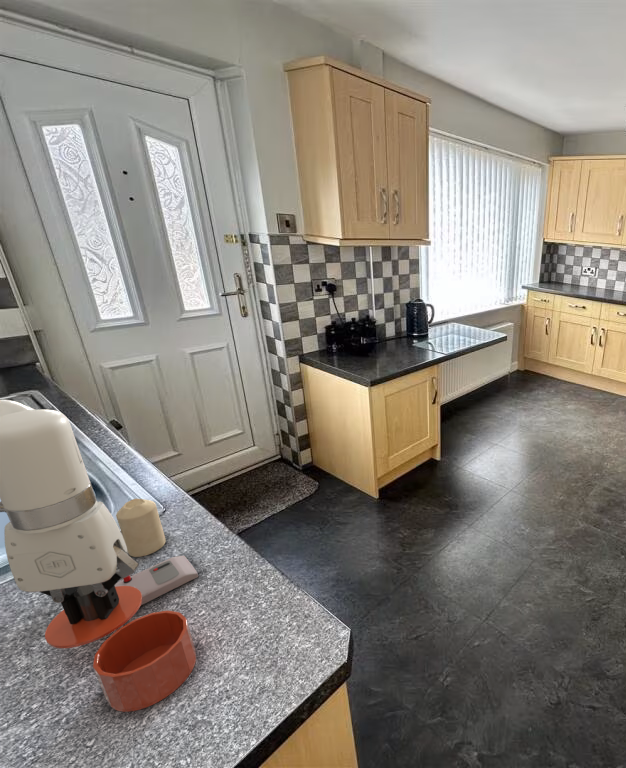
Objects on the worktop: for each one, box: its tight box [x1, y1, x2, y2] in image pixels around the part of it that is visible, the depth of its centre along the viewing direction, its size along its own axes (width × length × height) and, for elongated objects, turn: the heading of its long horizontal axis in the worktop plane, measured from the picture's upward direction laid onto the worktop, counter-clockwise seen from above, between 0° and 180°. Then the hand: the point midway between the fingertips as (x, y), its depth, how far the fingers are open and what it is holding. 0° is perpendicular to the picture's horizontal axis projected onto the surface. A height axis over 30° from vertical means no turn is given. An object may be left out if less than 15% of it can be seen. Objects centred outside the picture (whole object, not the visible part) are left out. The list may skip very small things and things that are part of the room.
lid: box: [44, 585, 142, 649], centre depth 59 cm, size 10×10×6 cm
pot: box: [92, 609, 197, 713], centre depth 57 cm, size 9×9×6 cm
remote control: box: [114, 555, 202, 606], centre depth 71 cm, size 7×16×3 cm, turn 143°
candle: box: [115, 498, 166, 558], centre depth 78 cm, size 6×6×10 cm
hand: (95, 612), depth 60 cm, fingers closed on lid, 2 cm apart
